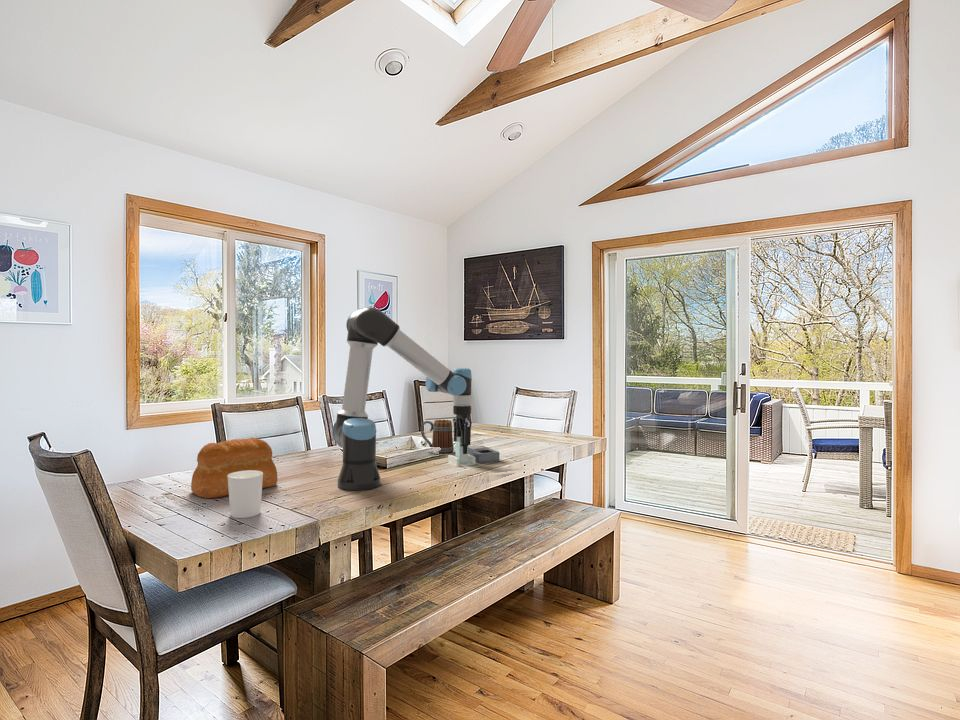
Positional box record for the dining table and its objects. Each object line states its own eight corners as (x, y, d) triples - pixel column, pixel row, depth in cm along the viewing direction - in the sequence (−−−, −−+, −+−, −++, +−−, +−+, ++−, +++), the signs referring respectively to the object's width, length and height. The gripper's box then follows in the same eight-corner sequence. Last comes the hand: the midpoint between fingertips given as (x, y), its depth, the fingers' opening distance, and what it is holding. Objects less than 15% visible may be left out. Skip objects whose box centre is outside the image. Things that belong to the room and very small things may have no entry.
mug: (455, 450, 260) (455, 419, 260) (451, 455, 250) (452, 422, 249) (423, 449, 262) (423, 418, 261) (418, 454, 251) (418, 421, 251)
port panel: (478, 466, 229) (478, 453, 228) (462, 458, 243) (462, 446, 243) (499, 463, 233) (499, 451, 233) (482, 456, 247) (482, 444, 247)
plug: (459, 464, 227) (459, 438, 226) (455, 462, 230) (455, 436, 230) (467, 463, 228) (468, 437, 228) (463, 461, 232) (464, 436, 232)
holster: (456, 468, 223) (456, 459, 223) (447, 464, 231) (447, 454, 231) (475, 466, 227) (476, 457, 227) (466, 462, 235) (466, 453, 235)
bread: (186, 492, 185) (186, 441, 184) (260, 478, 205) (260, 432, 204) (206, 501, 175) (205, 448, 174) (282, 486, 194) (282, 438, 194)
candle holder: (268, 508, 168) (267, 470, 167) (255, 519, 158) (255, 478, 157) (235, 508, 167) (235, 470, 167) (221, 519, 157) (221, 478, 157)
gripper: (479, 406, 223) (478, 463, 223) (461, 402, 238) (461, 455, 239) (462, 407, 219) (462, 465, 220) (445, 403, 234) (445, 457, 235)
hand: (461, 460), depth 229 cm, fingers closed on plug, 4 cm apart
